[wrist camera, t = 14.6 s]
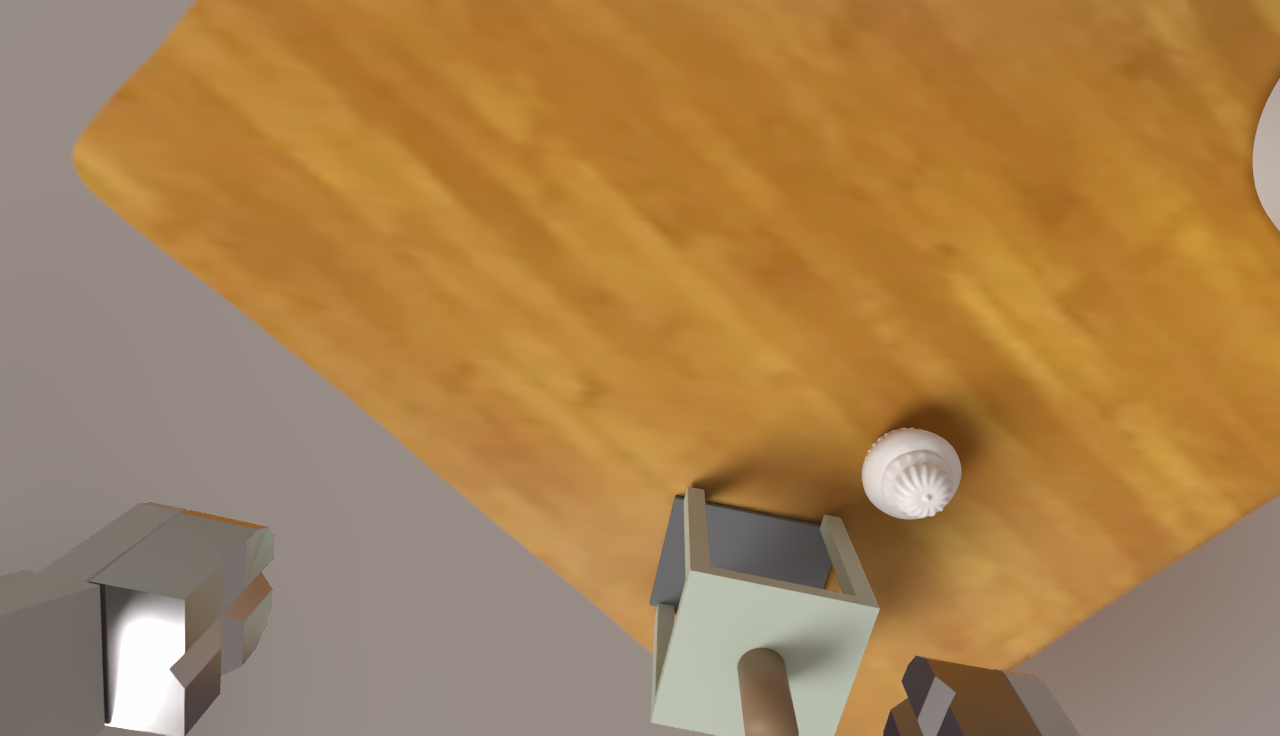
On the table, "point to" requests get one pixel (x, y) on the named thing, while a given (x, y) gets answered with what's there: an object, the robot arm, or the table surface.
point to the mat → (744, 549)
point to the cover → (759, 643)
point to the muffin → (911, 473)
